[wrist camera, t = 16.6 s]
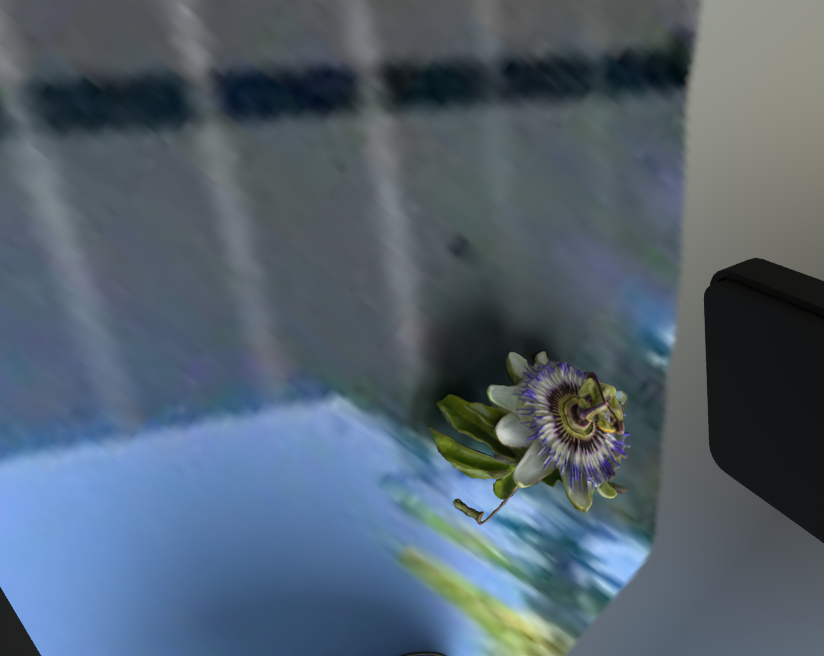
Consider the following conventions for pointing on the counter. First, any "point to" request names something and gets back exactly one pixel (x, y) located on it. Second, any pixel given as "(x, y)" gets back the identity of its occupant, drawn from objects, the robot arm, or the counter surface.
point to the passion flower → (540, 432)
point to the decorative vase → (424, 654)
